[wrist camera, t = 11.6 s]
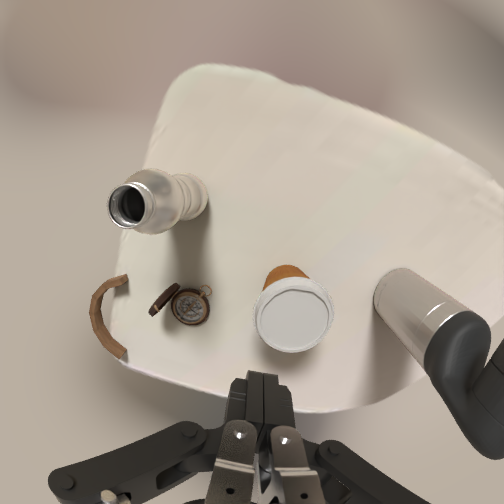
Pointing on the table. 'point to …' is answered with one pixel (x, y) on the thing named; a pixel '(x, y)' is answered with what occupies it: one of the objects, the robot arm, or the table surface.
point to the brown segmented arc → (98, 320)
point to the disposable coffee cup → (292, 310)
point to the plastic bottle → (156, 201)
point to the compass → (184, 304)
